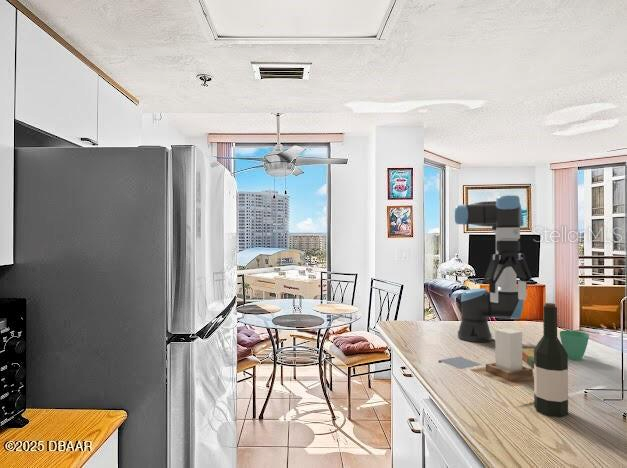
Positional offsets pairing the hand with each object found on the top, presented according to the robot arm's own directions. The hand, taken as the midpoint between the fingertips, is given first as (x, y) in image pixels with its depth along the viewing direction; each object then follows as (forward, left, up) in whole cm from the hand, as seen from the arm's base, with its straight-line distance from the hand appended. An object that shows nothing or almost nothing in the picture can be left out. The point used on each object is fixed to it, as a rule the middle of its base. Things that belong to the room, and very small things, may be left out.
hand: (508, 301), depth 143 cm
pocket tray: (0, 0, -26) cm, 26 cm away
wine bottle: (+25, -13, -26) cm, 39 cm away
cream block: (0, 0, -25) cm, 25 cm away
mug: (-5, +42, -26) cm, 50 cm away
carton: (-5, +20, -27) cm, 34 cm away
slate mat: (-17, -6, -26) cm, 32 cm away
